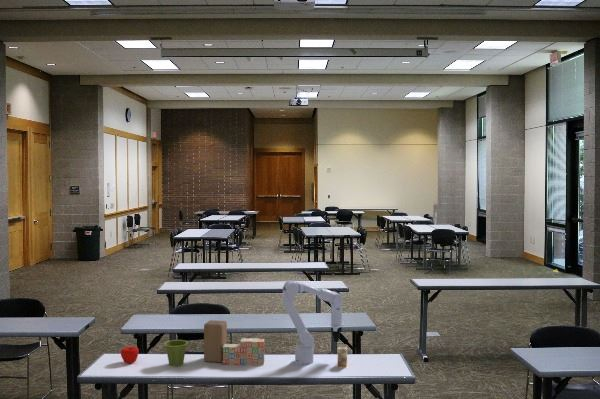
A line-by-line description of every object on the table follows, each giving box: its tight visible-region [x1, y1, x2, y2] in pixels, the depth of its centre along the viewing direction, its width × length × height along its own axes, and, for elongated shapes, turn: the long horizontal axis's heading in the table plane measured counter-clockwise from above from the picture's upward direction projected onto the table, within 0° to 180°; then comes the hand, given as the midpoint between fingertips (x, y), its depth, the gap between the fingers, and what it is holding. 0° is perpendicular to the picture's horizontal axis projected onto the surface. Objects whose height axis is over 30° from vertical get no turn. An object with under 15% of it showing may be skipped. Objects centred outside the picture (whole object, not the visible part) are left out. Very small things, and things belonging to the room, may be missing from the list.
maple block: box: [337, 346, 348, 359], centre depth 293 cm, size 4×4×4 cm
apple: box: [120, 346, 139, 364], centre depth 299 cm, size 9×9×8 cm
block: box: [203, 319, 228, 363], centre depth 304 cm, size 10×10×20 cm
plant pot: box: [164, 339, 189, 367], centre depth 296 cm, size 12×12×11 cm
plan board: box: [335, 362, 350, 369], centre depth 290 cm, size 14×16×1 cm
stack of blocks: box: [222, 338, 266, 366], centre depth 299 cm, size 21×6×12 cm, turn 90°
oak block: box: [337, 357, 348, 368], centre depth 293 cm, size 4×4×4 cm
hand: (336, 341), depth 302 cm, fingers closed
